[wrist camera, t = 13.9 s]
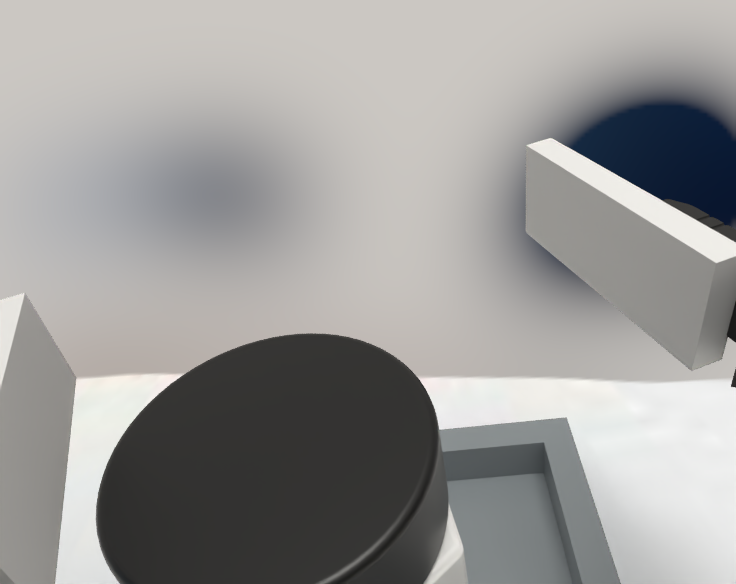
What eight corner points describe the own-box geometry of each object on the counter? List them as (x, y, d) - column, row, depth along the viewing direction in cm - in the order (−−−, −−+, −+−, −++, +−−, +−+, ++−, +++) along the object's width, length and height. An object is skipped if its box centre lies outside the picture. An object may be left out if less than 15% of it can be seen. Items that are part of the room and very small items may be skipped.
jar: (378, 513, 26) (317, 288, 19) (533, 662, 20) (528, 419, 13) (193, 671, 22) (31, 459, 15) (323, 911, 16) (159, 748, 9)
